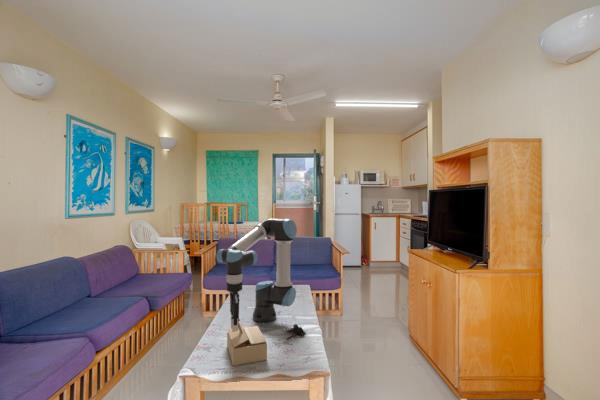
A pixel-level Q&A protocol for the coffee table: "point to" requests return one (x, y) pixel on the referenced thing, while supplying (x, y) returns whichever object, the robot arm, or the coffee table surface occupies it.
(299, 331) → the stuffed animal
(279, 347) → the coffee table surface
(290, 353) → the coffee table surface
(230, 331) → the flap outer
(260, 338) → the carton
